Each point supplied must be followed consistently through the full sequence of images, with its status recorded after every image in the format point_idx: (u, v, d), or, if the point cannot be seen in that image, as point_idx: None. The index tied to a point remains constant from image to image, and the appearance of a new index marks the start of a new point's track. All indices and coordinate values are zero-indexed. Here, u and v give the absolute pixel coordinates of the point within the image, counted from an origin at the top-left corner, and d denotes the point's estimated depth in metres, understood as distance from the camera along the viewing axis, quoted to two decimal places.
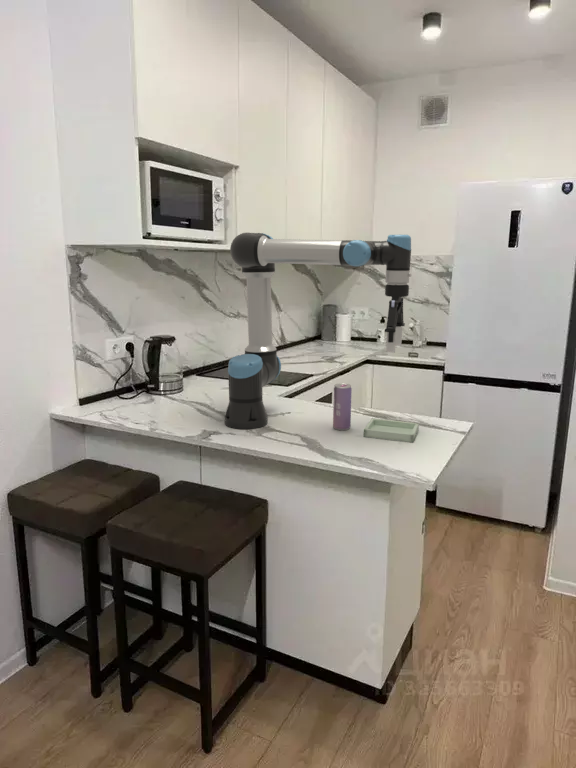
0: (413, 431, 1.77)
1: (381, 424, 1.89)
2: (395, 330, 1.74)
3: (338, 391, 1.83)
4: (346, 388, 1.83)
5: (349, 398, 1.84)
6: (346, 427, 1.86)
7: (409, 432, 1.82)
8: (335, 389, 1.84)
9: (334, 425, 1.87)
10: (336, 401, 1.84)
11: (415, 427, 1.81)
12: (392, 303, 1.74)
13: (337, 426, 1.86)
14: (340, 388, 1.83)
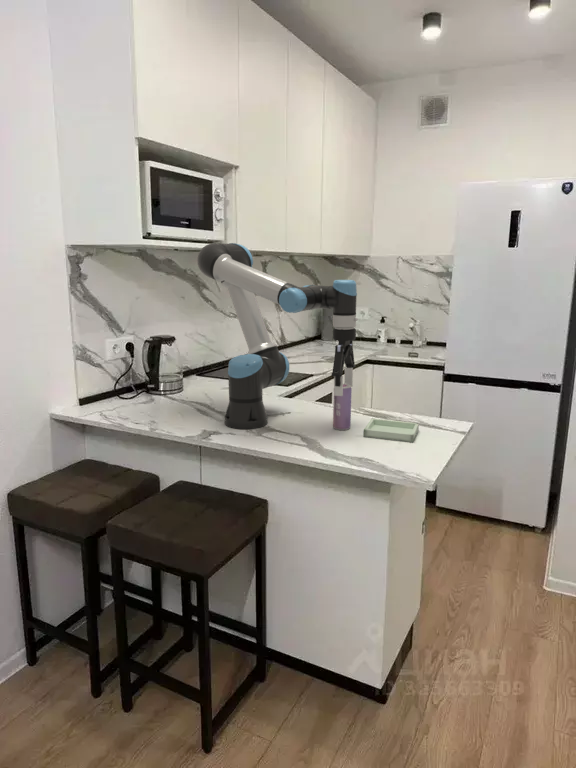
0: (413, 431, 1.77)
1: (381, 424, 1.89)
2: (341, 374, 1.76)
3: None
4: (346, 388, 1.83)
5: (349, 398, 1.84)
6: (346, 427, 1.86)
7: (409, 432, 1.82)
8: None
9: (334, 425, 1.87)
10: (336, 401, 1.84)
11: (415, 427, 1.81)
12: (338, 348, 1.76)
13: (337, 426, 1.86)
14: None
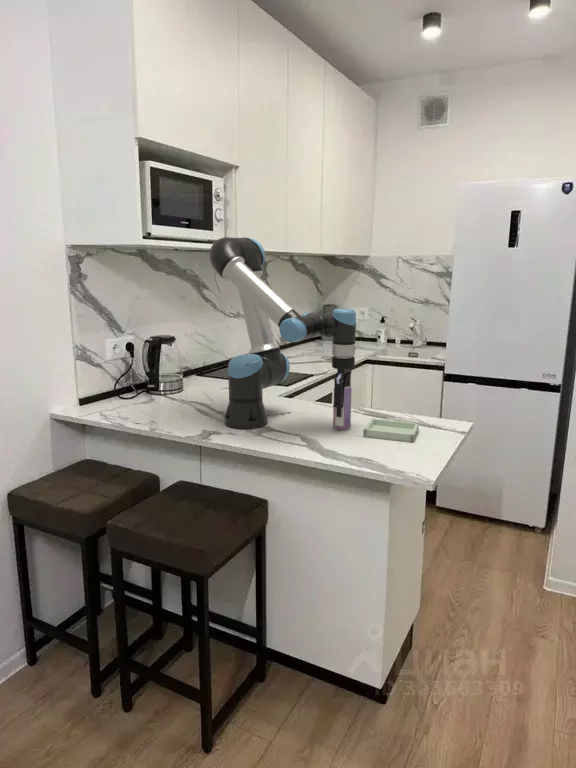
0: (413, 431, 1.77)
1: (381, 424, 1.89)
2: None
3: None
4: (346, 388, 1.83)
5: (349, 398, 1.84)
6: (346, 427, 1.86)
7: (409, 432, 1.82)
8: None
9: (334, 425, 1.87)
10: None
11: (415, 427, 1.81)
12: (337, 381, 1.79)
13: (337, 426, 1.86)
14: None
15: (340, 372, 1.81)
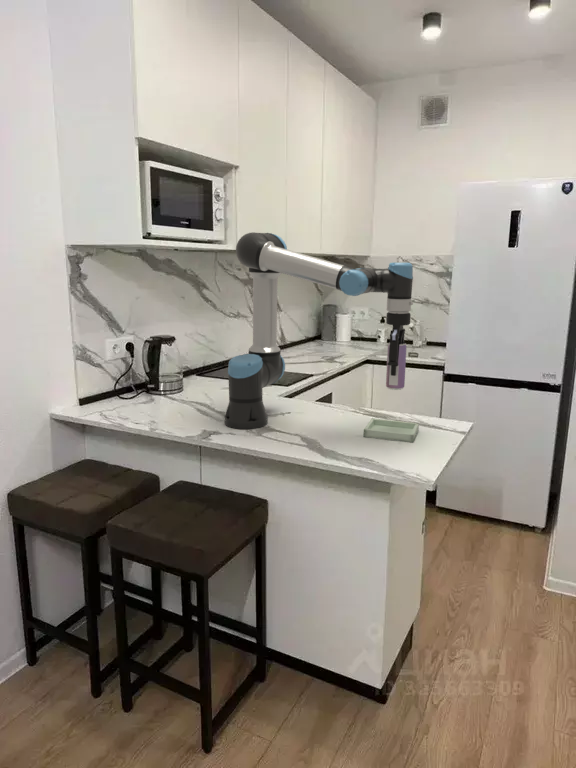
0: (413, 431, 1.77)
1: (381, 424, 1.89)
2: None
3: None
4: (401, 345, 1.75)
5: (404, 356, 1.77)
6: (400, 387, 1.79)
7: (409, 432, 1.82)
8: (389, 347, 1.77)
9: (387, 385, 1.80)
10: None
11: (415, 427, 1.81)
12: (393, 337, 1.71)
13: (391, 385, 1.79)
14: None
15: (395, 328, 1.73)
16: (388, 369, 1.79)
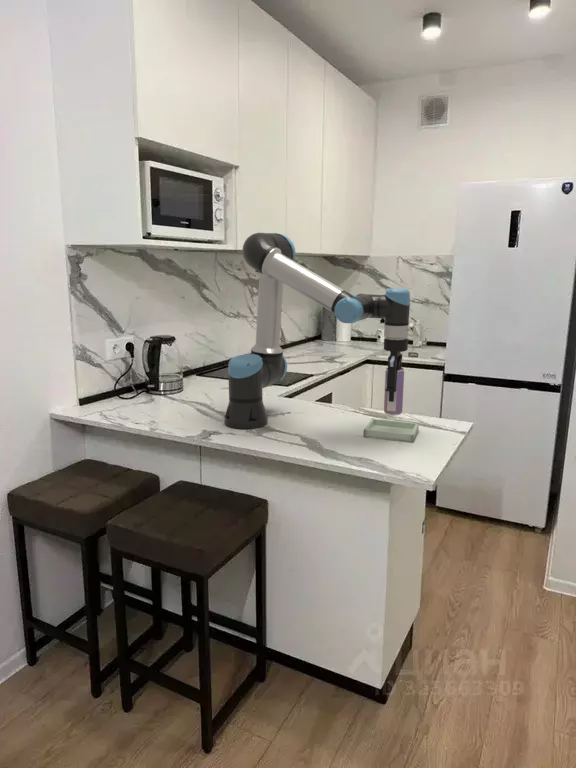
0: (413, 431, 1.77)
1: (381, 424, 1.89)
2: None
3: None
4: (399, 371, 1.75)
5: (401, 382, 1.77)
6: (398, 412, 1.79)
7: (409, 432, 1.82)
8: (387, 372, 1.77)
9: (385, 410, 1.80)
10: None
11: (415, 427, 1.81)
12: (391, 363, 1.71)
13: (389, 411, 1.79)
14: None
15: (393, 354, 1.73)
16: (386, 395, 1.79)
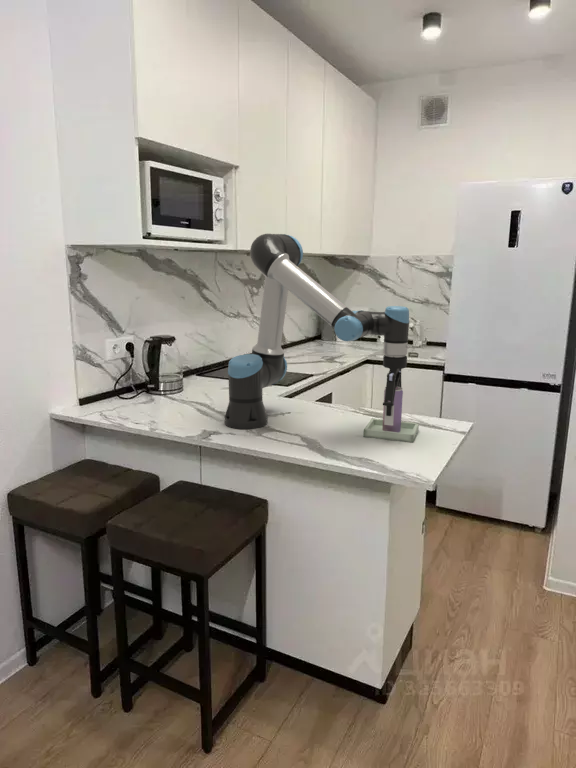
0: (413, 431, 1.77)
1: (381, 424, 1.89)
2: (393, 404, 1.73)
3: None
4: (398, 391, 1.77)
5: (400, 401, 1.78)
6: (397, 431, 1.80)
7: (409, 432, 1.82)
8: None
9: (384, 429, 1.81)
10: None
11: (415, 427, 1.81)
12: (390, 377, 1.72)
13: (388, 430, 1.80)
14: None
15: (392, 372, 1.75)
16: None
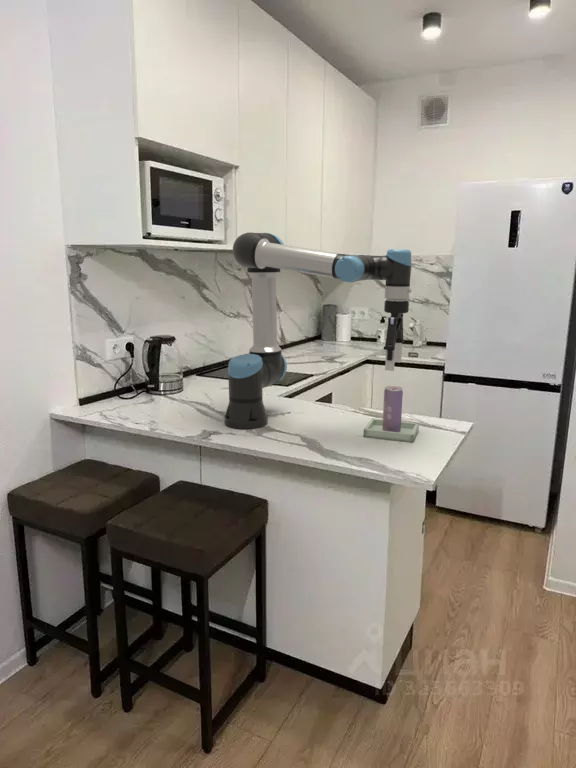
0: (413, 431, 1.77)
1: (381, 424, 1.89)
2: (394, 348, 1.69)
3: (389, 394, 1.77)
4: (398, 391, 1.77)
5: (400, 401, 1.78)
6: (397, 431, 1.80)
7: (409, 432, 1.82)
8: (386, 392, 1.78)
9: (384, 429, 1.81)
10: (387, 404, 1.79)
11: (415, 427, 1.81)
12: (391, 320, 1.68)
13: (388, 430, 1.80)
14: (391, 391, 1.77)
15: (394, 316, 1.71)
16: (385, 414, 1.80)
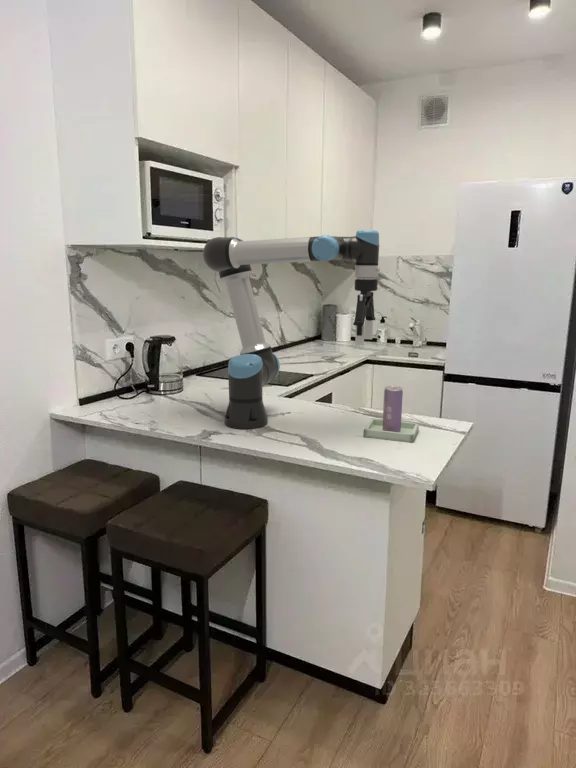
0: (413, 431, 1.77)
1: (381, 424, 1.89)
2: (363, 323, 1.78)
3: (389, 394, 1.77)
4: (398, 391, 1.77)
5: (400, 401, 1.78)
6: (397, 431, 1.80)
7: (409, 432, 1.82)
8: (386, 392, 1.78)
9: (384, 429, 1.81)
10: (387, 404, 1.79)
11: (415, 427, 1.81)
12: (360, 297, 1.78)
13: (388, 430, 1.80)
14: (391, 391, 1.77)
15: (363, 294, 1.80)
16: (385, 414, 1.80)
